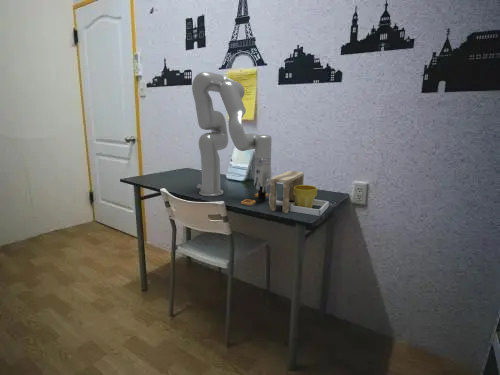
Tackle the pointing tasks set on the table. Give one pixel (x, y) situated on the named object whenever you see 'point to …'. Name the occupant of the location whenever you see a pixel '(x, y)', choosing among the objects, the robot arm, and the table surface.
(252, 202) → the pit tray near right
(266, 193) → the pit tray near left
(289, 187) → the tunnel
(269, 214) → the table surface
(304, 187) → the plant pot
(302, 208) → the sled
